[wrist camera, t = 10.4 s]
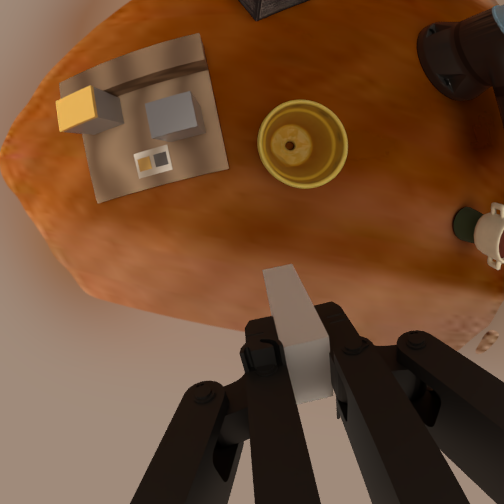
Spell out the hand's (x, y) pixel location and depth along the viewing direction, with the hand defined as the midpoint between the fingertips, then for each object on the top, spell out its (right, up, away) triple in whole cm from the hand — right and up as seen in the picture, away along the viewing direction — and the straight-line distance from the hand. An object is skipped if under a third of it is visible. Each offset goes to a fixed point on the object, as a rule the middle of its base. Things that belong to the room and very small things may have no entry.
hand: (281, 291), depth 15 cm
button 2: (-22, +21, +21) cm, 37 cm away
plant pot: (+4, +17, +26) cm, 31 cm away
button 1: (-10, +19, +22) cm, 31 cm away
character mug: (+38, +7, +31) cm, 49 cm away
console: (-16, +20, +23) cm, 35 cm away
